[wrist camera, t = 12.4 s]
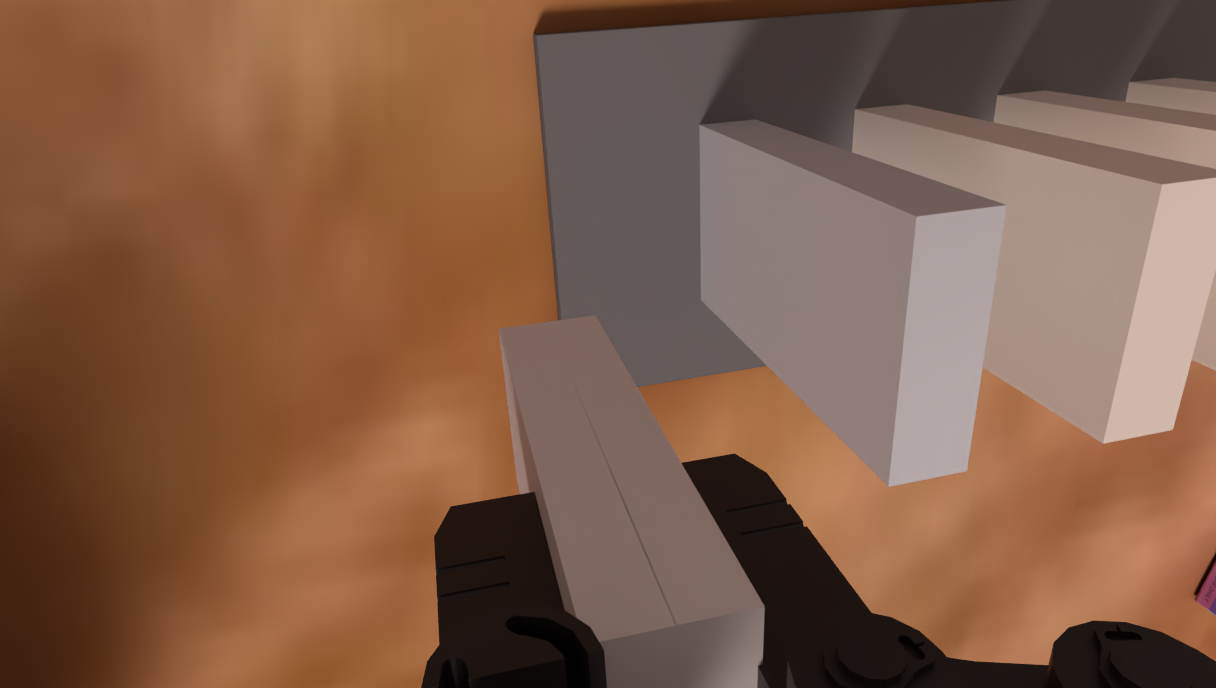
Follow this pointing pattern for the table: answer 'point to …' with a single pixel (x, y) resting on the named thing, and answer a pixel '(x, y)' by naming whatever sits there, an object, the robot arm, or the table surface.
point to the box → (1208, 592)
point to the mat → (786, 128)
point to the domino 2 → (1076, 261)
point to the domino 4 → (1175, 94)
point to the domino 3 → (1124, 147)
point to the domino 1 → (853, 289)
